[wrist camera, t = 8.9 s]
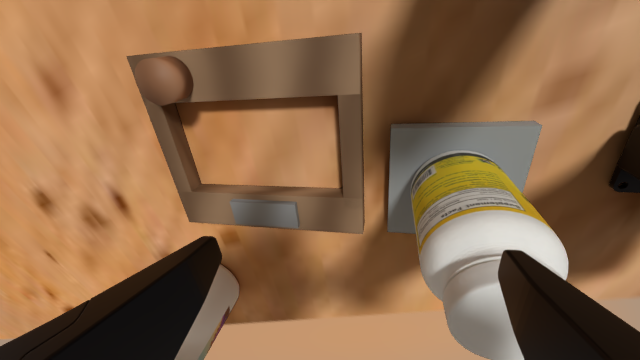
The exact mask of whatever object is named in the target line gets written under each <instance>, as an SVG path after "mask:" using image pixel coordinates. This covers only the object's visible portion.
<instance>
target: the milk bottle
mask: <svg viewBox="0 0 640 360" xmlns="http://www.w3.org/2000/svg"><path fill="white" fill-rule="evenodd" d="M238 297H239V284H238V282H237V279H236V278H235V277H234V275H233V274H232V273H231V272H230V271H229V270H228V269H227V268H225V267H224V266H223V265H221V264H220V265H219V268H218V270H217V273H216V275H215V278H214V280H213V283H212V285H211V288H210V290H209V293H208V295H207V297H206V299H205V302H204V304H203V306H202V308H201V310H200V312H199V314H198V316H197V317H196V319H195V321H194V323H193V325H192V327H191V329H190V331H189V333H188V335H187V337H186V339H185V340H184V342H183V344H182V346H181V348H180V350H179V352H178V354H177V356H176V358H175V360H204V358H205V356H206V354H207V353H208V351H209V349H210V348H211V346H212V344H213V342H214V340H215V339H216V336H217V335H218V333H219V331H220V330H221V328H222V326H223V324H224V323H225V321H226V319H227V317H228V315H229V314H230V312H231V310H232V308H233V306H234V305H235V303H236V301H237V299H238Z"/></svg>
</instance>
